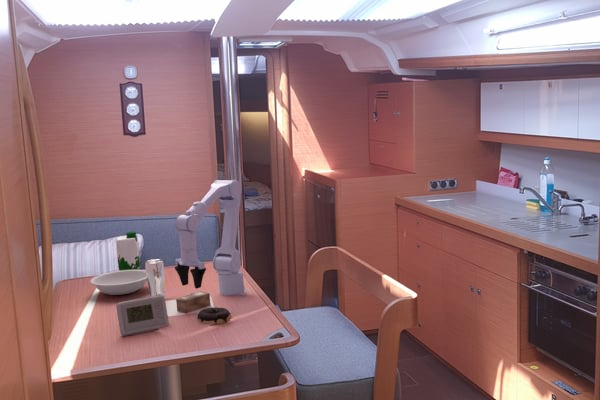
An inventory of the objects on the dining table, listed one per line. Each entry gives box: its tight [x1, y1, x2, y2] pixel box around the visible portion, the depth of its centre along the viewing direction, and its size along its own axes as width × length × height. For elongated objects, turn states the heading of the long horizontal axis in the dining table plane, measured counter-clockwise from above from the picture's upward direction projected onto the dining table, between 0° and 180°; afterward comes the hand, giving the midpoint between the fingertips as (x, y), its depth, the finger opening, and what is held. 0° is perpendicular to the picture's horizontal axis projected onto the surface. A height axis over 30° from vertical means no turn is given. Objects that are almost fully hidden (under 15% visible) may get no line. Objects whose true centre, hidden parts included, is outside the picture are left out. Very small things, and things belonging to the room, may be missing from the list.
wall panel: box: [165, 292, 215, 318], centre depth 248 cm, size 22×20×4 cm
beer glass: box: [144, 258, 167, 300], centre depth 262 cm, size 7×7×15 cm
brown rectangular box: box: [175, 290, 211, 315], centre depth 244 cm, size 11×5×5 cm, turn 136°
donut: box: [196, 307, 232, 327], centre depth 232 cm, size 11×12×4 cm
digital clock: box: [116, 295, 170, 337], centre depth 227 cm, size 16×9×11 cm, turn 102°
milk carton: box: [115, 231, 141, 271], centre depth 298 cm, size 9×9×20 cm
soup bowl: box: [89, 269, 147, 296], centre depth 276 cm, size 24×24×7 cm
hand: (191, 286), depth 244 cm, fingers open, 7 cm apart
